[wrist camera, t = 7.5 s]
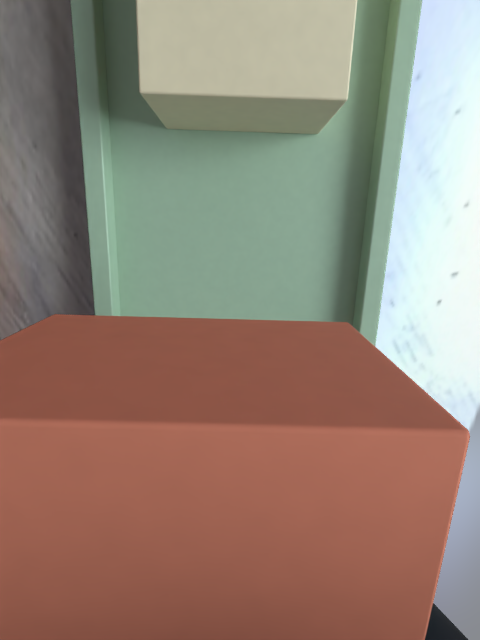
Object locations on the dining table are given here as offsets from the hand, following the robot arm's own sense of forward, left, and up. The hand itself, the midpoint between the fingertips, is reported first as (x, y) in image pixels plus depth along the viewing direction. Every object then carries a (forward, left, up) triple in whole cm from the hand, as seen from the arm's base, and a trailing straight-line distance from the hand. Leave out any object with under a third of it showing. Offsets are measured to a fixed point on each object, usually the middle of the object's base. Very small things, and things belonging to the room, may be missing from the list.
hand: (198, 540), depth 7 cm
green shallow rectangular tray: (-1, -8, -10) cm, 13 cm away
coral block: (0, 0, -1) cm, 1 cm away
